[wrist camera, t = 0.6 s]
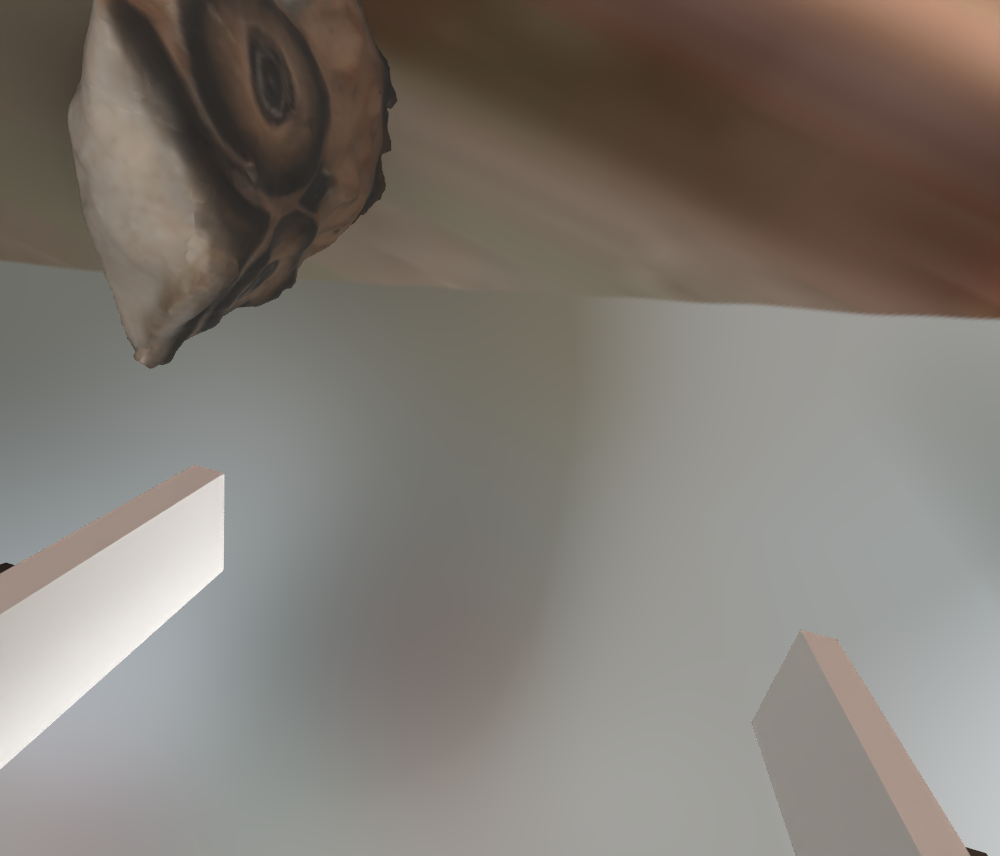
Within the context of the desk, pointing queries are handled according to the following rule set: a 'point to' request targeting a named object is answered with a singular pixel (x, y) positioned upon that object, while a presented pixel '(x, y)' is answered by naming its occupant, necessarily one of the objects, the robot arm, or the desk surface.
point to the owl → (222, 151)
